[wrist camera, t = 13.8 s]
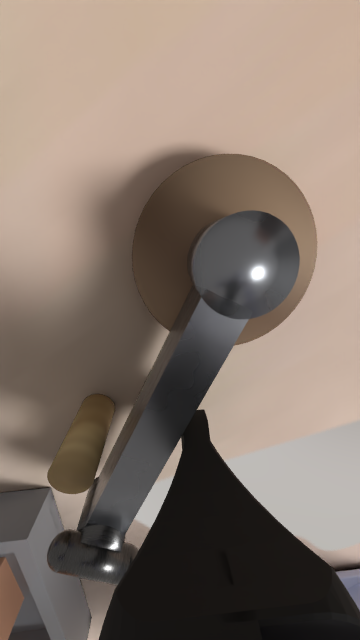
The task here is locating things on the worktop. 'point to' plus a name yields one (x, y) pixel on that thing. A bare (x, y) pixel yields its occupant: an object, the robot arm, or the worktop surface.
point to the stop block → (8, 599)
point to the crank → (180, 381)
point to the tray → (40, 569)
